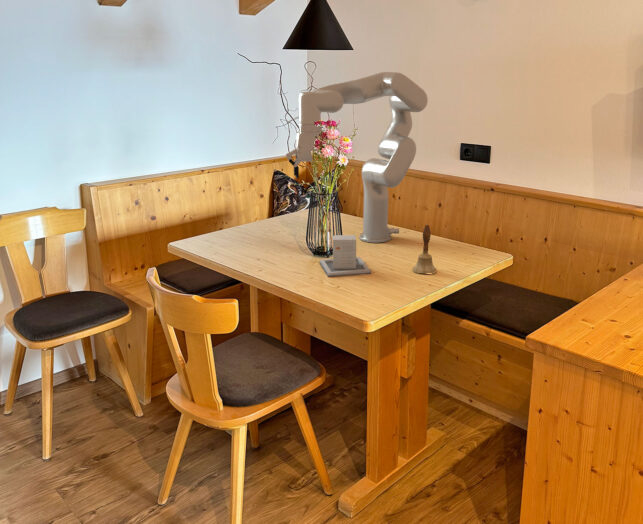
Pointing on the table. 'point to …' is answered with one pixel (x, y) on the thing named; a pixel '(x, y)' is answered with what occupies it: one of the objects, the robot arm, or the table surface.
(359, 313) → the table surface
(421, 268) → the hand bell
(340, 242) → the small box
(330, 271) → the docking base
